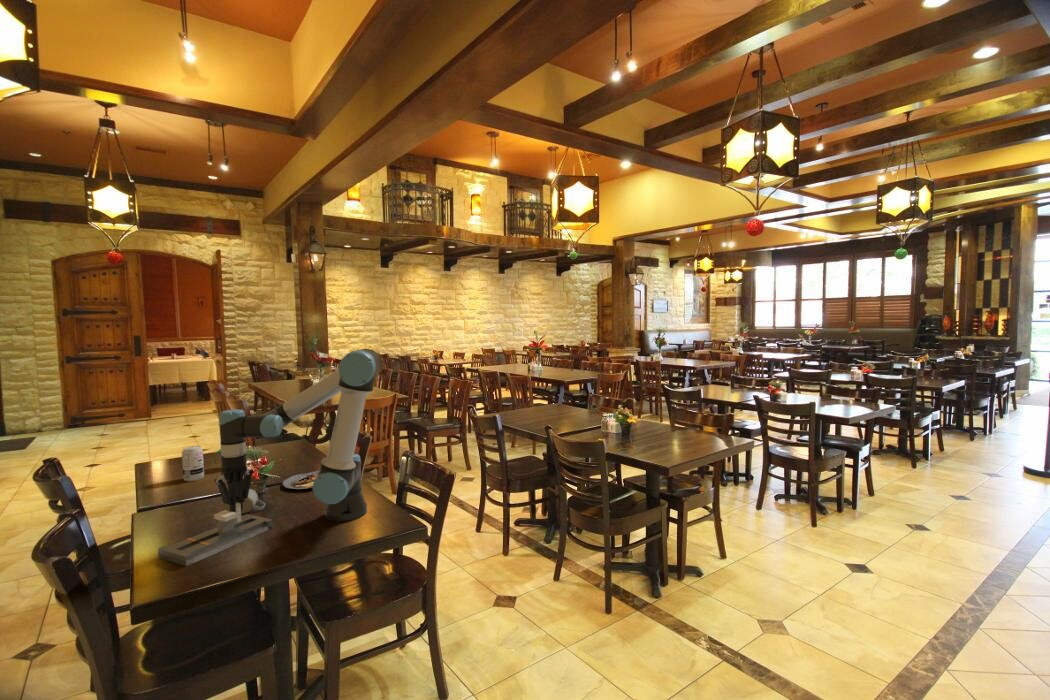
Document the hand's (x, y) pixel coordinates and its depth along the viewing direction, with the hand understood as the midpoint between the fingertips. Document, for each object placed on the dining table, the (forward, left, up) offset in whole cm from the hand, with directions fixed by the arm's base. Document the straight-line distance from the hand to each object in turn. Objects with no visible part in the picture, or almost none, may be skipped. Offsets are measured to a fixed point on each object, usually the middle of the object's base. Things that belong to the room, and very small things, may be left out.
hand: (236, 521), depth 172 cm
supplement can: (+78, -32, -5) cm, 84 cm away
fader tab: (0, +4, -3) cm, 5 cm away
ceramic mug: (+17, -17, -5) cm, 24 cm away
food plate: (+20, -50, -5) cm, 54 cm away
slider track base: (0, +6, -5) cm, 8 cm away
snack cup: (+78, -52, -5) cm, 93 cm away
